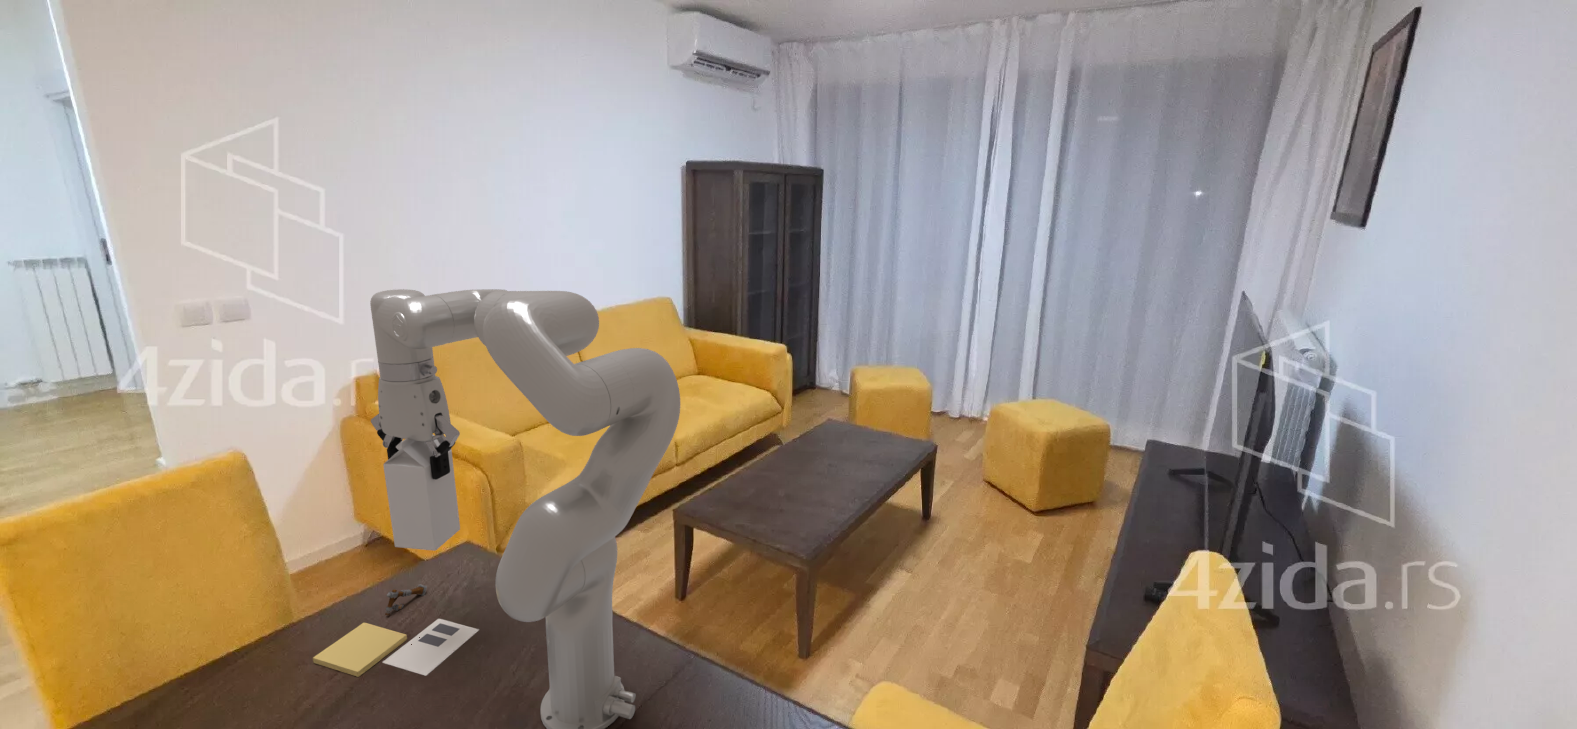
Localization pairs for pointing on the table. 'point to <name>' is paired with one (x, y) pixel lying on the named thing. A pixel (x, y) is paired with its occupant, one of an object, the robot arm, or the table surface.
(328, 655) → the coaster
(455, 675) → the table surface
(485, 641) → the table surface
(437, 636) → the tile
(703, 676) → the table surface
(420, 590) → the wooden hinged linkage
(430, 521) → the milk carton
